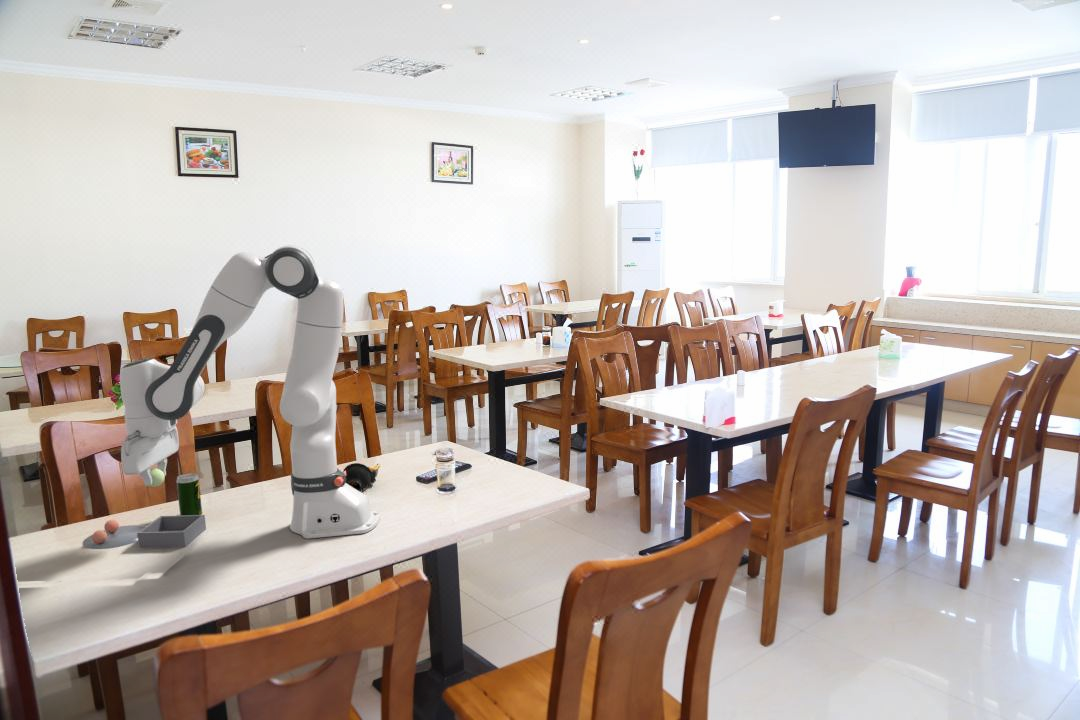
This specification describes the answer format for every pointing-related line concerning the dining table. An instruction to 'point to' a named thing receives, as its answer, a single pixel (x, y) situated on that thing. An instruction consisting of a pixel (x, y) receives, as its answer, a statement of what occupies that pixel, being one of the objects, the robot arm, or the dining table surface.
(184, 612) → the dining table surface
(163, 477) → the lettuce ball
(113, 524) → the tomato
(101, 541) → the tomato
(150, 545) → the bin
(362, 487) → the fried shrimp in bowl
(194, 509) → the beer can
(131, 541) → the slate plate
